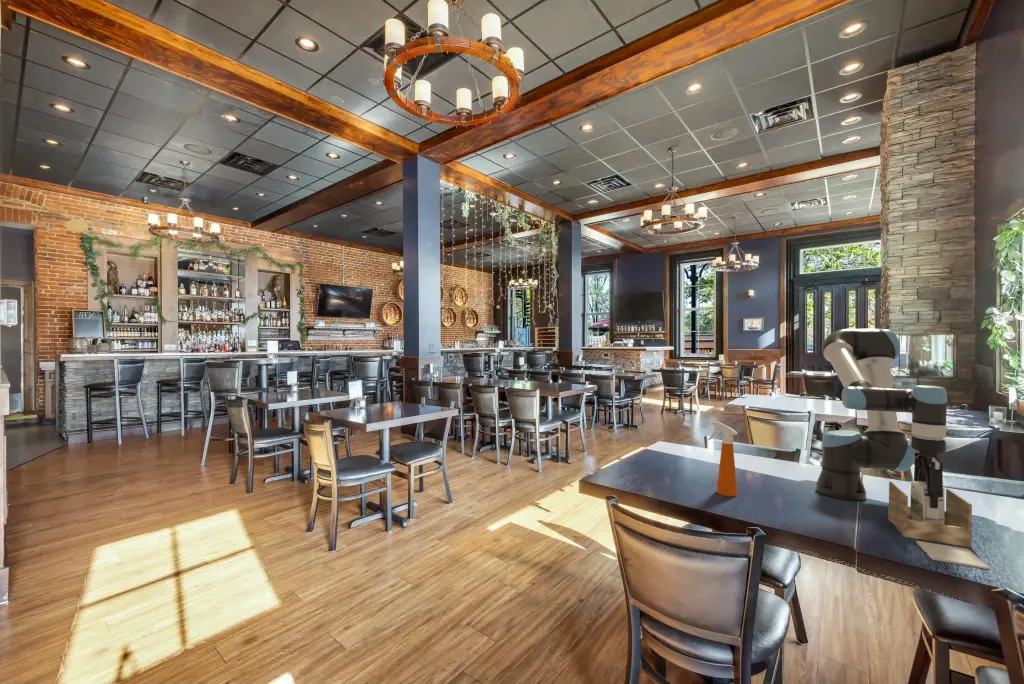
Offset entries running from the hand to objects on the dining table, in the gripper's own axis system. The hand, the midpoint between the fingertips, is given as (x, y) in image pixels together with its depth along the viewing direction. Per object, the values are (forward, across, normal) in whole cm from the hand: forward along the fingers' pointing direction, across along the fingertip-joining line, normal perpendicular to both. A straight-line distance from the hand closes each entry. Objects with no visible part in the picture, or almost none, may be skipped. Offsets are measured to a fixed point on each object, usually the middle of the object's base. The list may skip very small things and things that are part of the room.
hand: (927, 513), depth 133 cm
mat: (+5, -16, 0) cm, 17 cm away
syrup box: (+6, 0, 0) cm, 6 cm away
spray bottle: (+6, +9, +56) cm, 57 cm away
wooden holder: (+5, 0, 0) cm, 5 cm away
